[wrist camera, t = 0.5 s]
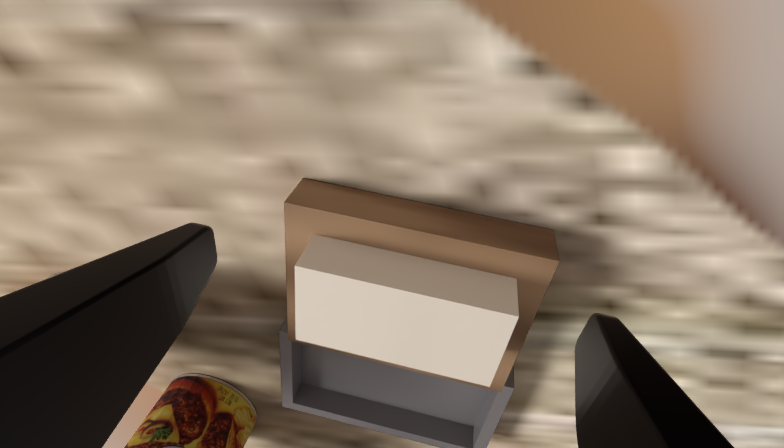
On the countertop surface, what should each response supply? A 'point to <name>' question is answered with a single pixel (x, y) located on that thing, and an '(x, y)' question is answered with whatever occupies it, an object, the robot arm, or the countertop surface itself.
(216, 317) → the countertop surface
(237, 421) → the canned food
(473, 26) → the countertop surface
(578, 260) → the countertop surface
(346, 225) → the plate
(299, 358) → the box
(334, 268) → the cream tile
